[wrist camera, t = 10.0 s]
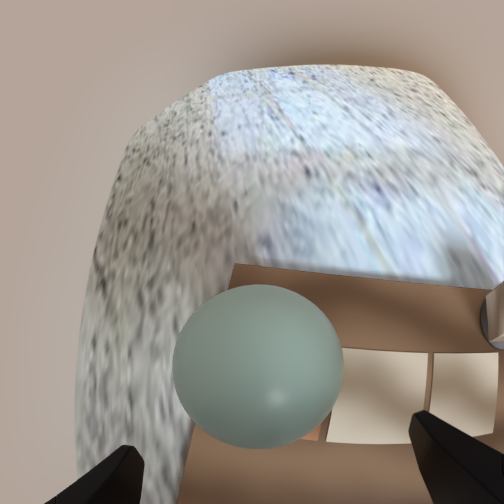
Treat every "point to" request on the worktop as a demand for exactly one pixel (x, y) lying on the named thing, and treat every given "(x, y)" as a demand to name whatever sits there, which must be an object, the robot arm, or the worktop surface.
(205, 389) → the pawn
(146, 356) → the worktop surface
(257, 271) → the game board
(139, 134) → the worktop surface
